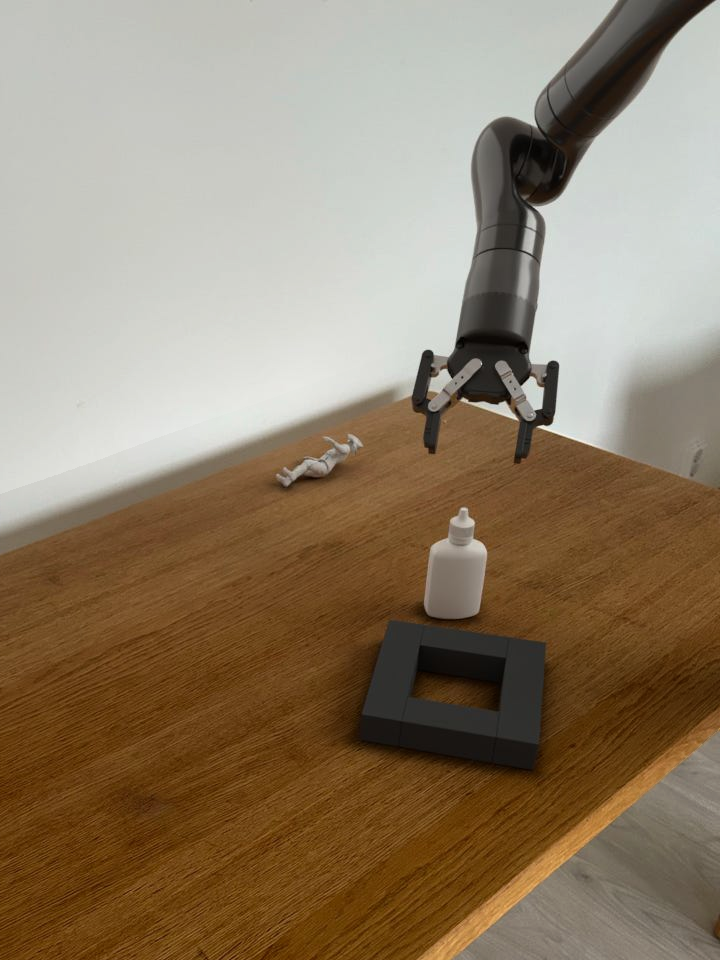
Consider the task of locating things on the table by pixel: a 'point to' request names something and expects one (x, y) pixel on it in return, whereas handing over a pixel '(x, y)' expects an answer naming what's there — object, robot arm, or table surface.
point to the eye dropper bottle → (456, 572)
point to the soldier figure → (322, 461)
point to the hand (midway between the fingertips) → (474, 456)
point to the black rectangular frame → (449, 725)
